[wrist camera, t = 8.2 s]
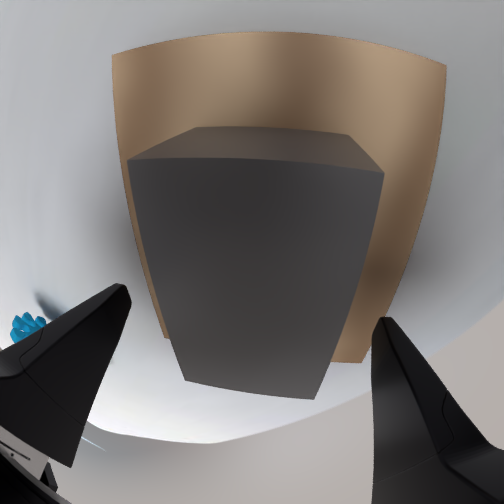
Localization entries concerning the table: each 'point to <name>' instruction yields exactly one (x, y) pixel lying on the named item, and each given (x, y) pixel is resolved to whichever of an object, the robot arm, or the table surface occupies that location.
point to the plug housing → (255, 250)
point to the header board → (298, 127)
